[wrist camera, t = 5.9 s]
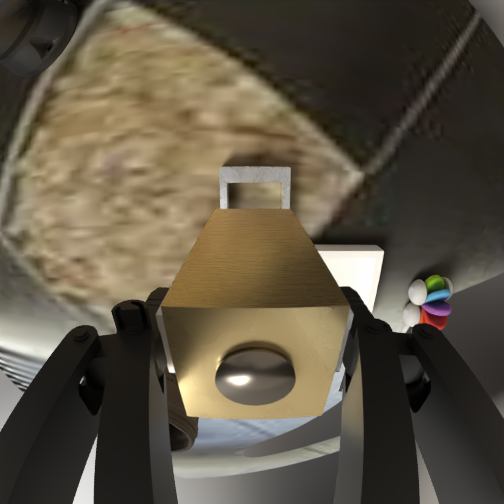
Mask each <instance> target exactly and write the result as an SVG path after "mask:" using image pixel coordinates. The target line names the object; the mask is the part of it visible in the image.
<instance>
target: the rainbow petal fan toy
mask: <svg viewBox="0 0 504 504" xmlns="http://www.w3.org/2000/svg"><path fill="white" fill-rule="evenodd" d="M452 293H453V285H452V282H451V281H450V280H449V279H448V278H446V277H440V276H439V275H432V276H430V277H428V278H427V279H426V280H425V281H424V282H423V281H422V280H420V279H418V280H416V281H414V282H413V283H412V284H411V285H410V287H409V291H408V294H409V298H410V300H411V301H412V302H411V303H409V304H408V305H407V306H406V307H405V308H404V310H403V320H404V322H405V323H406V324H407V325H409V326H411V327H413V326H414V325H416V324H419V323H427V324H431V325H433V326H435V327H437V328H438V329H439V330H441V329H443V328H444V327H445V325H446V323H447V316H446V315H448V314H450V312H451V306H450V305H449V304H448V303H446V302H444V301H446V300H448V299H449V298H450V297H451V295H452Z"/></svg>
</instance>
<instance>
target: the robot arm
mask: <svg viewBox="0 0 504 504" xmlns="http://www.w3.org/2000/svg"><path fill="white" fill-rule="evenodd" d="M77 19H78V10H77V7H76V6H75V5H74V4H73V3H72V2H70V1H68V0H0V63H1V64H3V65H4V66H5V67H6V68H8V69H9V70H10V71H12V72H13V73H14V74H15V75H17V76H22V77H33V76H35V75H37V74H39V73H41V72H42V71H44V70H45V69H46V68H47V67H49V66H50V65H51V64H52V63H53V62H54V61H55V60H56V58H57V57H58V56H59V55H60V54H61V52H62V51H63V50H64V48H65V47H66V45H67V43H68V42H69V40H70V38H71V36H72V34H73V32H74V30H75V27H76V24H77ZM192 248H193V247H192ZM191 250H192V249H191ZM190 252H191V251H190ZM188 255H189V254H188ZM187 257H188V256H187ZM186 259H187V258H186ZM184 262H185V261H184ZM183 264H184V263H183ZM182 266H183V265H182ZM179 271H180V270H179ZM178 273H179V272H178ZM177 275H178V274H177ZM174 280H175V279H174ZM173 282H174V281H173ZM172 284H173V283H172ZM171 286H172V285H171ZM169 289H170V288H161V287H159V288H157V289H156V290H154V291H153V292H151V294H150V295H149V297H148V298H147V300H146V302H144V301H140V300H127V301H123V302H121V303H118V304H117V305H116V306H114V307H113V309H112V310H111V312H112V315H113V319H114V322H115V325H116V329H117V333H116V334H111V335H102V336H99V335H98V332H97V330H96V329H95V328H94V327H93V326H89V325H82V326H78V327H76V328H74V329H72V330H71V331H70V332H69V333H68V334H67V335H66V336H65V337H64V339H63V340H62V341H61V343H60V344H59V345H58V346H57V348H56V349H55V350H54V352H53V353H52V354H51V356H50V357H49V358H48V360H47V361H46V362H45V364H44V365H43V367H42V368H41V369H40V371H39V372H38V374H37V375H36V376H35V378H34V379H33V381H32V382H31V384H30V385H29V387H28V388H27V390H26V391H25V393H24V394H23V396H22V397H21V399H20V401H19V402H18V403H17V405H16V407H15V408H14V410H13V411H12V413H11V415H10V416H9V418H8V420H7V421H6V423H5V425H4V427H3V428H2V430H1V432H0V504H72V503H73V500H74V497H75V494H76V491H77V488H78V485H79V482H80V479H81V476H82V473H83V471H84V468H85V465H86V462H87V459H88V457H89V454H90V452H91V449H92V446H93V444H94V441H95V438H96V436H97V434H98V437H97V448H96V460H95V475H94V504H178V500H177V495H176V487H175V481H174V473H173V465H172V456H171V447H170V436H169V424H168V409H167V390H166V377H165V374H164V369H165V366H166V363H167V366H168V369H169V372H170V373H175V370H174V366H173V362H172V358H171V353H170V349H169V345H168V340H167V336H166V331H165V326H164V321H163V316H162V311H161V304H162V302H163V301H164V299H165V297H166V295H167V293H168V291H169ZM340 289H341V290H342V292H343V294H344V295H345V297H346V299H347V301H348V302H349V304H350V309H349V314H348V319H347V324H346V328H345V333H344V337H343V341H342V346H341V350H340V354H339V358H338V362H337V366H336V369H335V372H339V371H340V368H341V364H342V361H343V364H344V367H345V373H344V376H343V379H342V382H341V386H340V389H339V391H342V389H343V397H342V423H341V439H340V453H339V463H338V473H337V483H336V490H335V497H334V504H420V497H419V478H418V464H417V455H416V445H415V439H416V442H417V444H418V447H419V449H420V452H421V454H422V457H423V459H424V462H425V464H426V467H427V470H428V472H429V475H430V478H431V481H432V483H433V486H434V489H435V492H436V495H437V498H438V501H439V504H504V418H503V417H502V415H501V414H500V412H499V411H498V409H497V407H496V406H495V404H494V403H493V401H492V400H491V398H490V397H489V395H488V394H487V392H486V391H485V389H484V388H483V386H482V385H481V384H480V382H479V381H478V379H477V378H476V376H475V375H474V374H473V372H472V371H471V370H470V368H469V367H468V366H467V364H466V363H465V361H464V360H463V359H462V357H461V356H460V355H459V354H458V352H457V351H456V350H455V348H454V347H453V346H452V345H451V344H450V342H449V341H448V340H447V338H446V337H445V336H444V335H443V333H442V332H441V331H440V330H439V329H438V328H437V327H435V326H433V325H431V324H427V323H419V324H416V325H414V326H413V327H412V330H411V333H410V334H406V333H397V332H392V329H391V327H390V325H389V324H387V323H386V322H385V321H382V320H380V319H376V318H374V317H373V315H372V314H371V312H370V311H369V309H368V307H367V306H366V304H364V301H363V300H362V299H361V297H360V295H359V294H358V292H357V291H356V290H354V289H353V288H351V287H350V286H341V287H340ZM426 374H427V375H428V377H429V379H430V380H429V382H427V380H426V378H425V376H426ZM82 377H83V379H84V380H83V381H82V383H81V384H80V381H81V379H82Z"/></svg>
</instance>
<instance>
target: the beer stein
mask: <svg viewBox="0 0 504 504" xmlns="http://www.w3.org/2000/svg"><path fill="white" fill-rule="evenodd" d="M164 374H165V377H166V390H167V409H168V424H169V436H170V447H171V452H182V451H186V450H188V449H190V448H191V447H192V446H193V444H194V441H195V438H196V437H197V434H198V418H199V417H192V416H187V413H186V410H185V406H184V403H183V399H182V396H181V392H180V389H179V385H178V381H177V378H176V374H175V373H170V372H169V369H168V366H167V363H166V366H165V369H164Z"/></svg>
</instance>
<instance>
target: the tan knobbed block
mask: <svg viewBox="0 0 504 504" xmlns="http://www.w3.org/2000/svg"><path fill="white" fill-rule="evenodd" d="M349 309H350V304H349V302H348V301H347V299H346V297H345V295H344V294H343V292H342V290H341V289H340V287H339V285H338V284H337V282H336V280H335V278H334V277H333V275H332V273H331V272H330V270H329V269H328V267H327V265H326V264H325V262H324V260H323V259H322V257H321V255H320V254H319V252H318V251H317V249H316V247H315V246H314V244H313V243H312V241H311V239H310V238H309V236H308V235H307V233H306V232H305V230H304V228H303V227H302V225H301V224H300V222H299V221H298V219H297V218H296V216H295V215H294V213H293V212H292V210H291V209H215V211H214V212H213V214H212V216H211V217H210V219H209V221H208V222H207V224H206V226H205V227H204V229H203V231H202V233H201V234H200V236H199V238H198V239H197V241H196V243H195V245H194V246H193V248H192V250H191V252H190V253H189V255H188V257H187V259H186V260H185V262H184V264H183V266H182V267H181V269H180V271H179V273H178V275H177V276H176V278H175V280H174V282H173V284H172V286H171V287H170V289H169V291H168V293H167V295H166V297H165V299H164V301H163V302H162V304H161V311H162V316H163V321H164V326H165V331H166V336H167V340H168V345H169V349H170V353H171V358H172V362H173V366H174V370H175V374H176V378H177V381H178V385H179V389H180V392H181V396H182V399H183V403H184V406H185V410H186V413H187V416H192V417H205V418H222V419H280V418H297V417H310V416H320V415H322V413H323V410H324V407H325V404H326V401H327V397H328V394H329V391H330V387H331V384H332V380H333V377H334V373H335V369H336V366H337V362H338V358H339V354H340V350H341V346H342V341H343V337H344V333H345V328H346V324H347V319H348V314H349Z"/></svg>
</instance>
